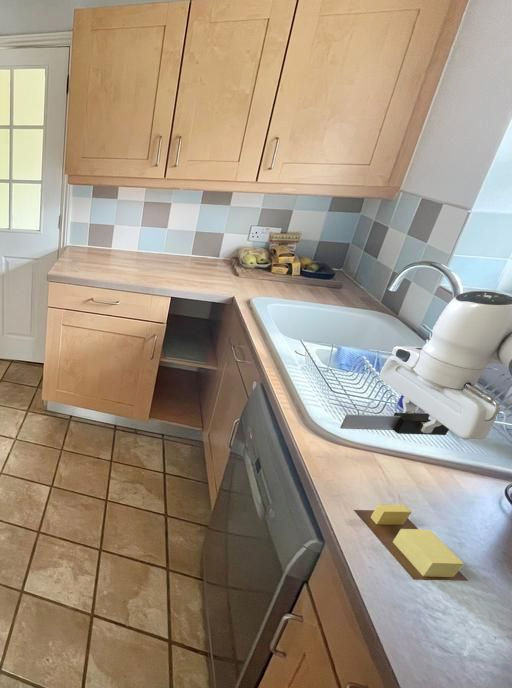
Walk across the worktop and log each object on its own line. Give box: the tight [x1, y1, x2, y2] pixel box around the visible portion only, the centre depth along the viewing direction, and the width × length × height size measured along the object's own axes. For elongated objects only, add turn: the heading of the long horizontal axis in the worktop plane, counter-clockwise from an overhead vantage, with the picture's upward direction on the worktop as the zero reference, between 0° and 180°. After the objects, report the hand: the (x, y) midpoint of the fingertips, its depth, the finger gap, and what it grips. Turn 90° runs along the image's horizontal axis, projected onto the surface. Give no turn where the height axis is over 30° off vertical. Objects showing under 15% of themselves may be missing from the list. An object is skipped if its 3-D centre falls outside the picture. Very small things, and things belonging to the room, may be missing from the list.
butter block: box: [393, 528, 465, 577], centre depth 70 cm, size 5×6×4 cm
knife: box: [340, 412, 450, 436], centre depth 87 cm, size 21×2×4 cm, turn 89°
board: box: [353, 509, 470, 582], centre depth 73 cm, size 9×13×2 cm
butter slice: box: [371, 504, 412, 525], centre depth 76 cm, size 5×2×4 cm, turn 90°
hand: (415, 424), depth 87 cm, fingers closed on knife, 2 cm apart
